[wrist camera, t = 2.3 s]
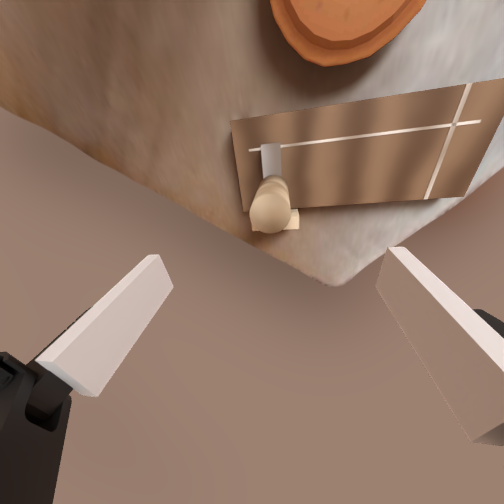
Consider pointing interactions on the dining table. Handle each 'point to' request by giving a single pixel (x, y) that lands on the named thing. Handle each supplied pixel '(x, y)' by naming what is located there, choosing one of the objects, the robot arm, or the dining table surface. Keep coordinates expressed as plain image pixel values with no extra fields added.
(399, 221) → the dining table surface
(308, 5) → the pie
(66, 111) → the dining table surface
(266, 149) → the wooden handled tool
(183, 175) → the dining table surface
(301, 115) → the board
